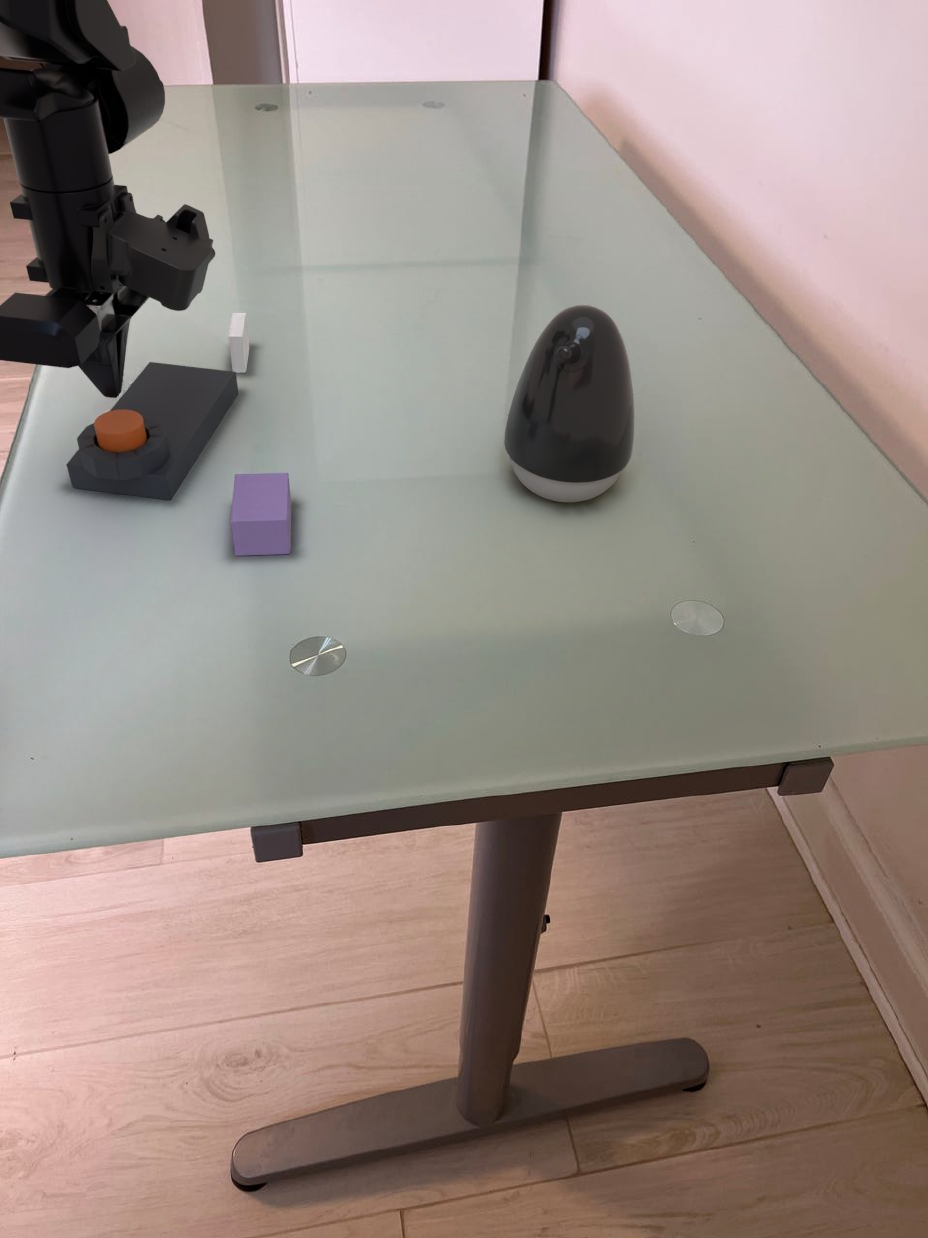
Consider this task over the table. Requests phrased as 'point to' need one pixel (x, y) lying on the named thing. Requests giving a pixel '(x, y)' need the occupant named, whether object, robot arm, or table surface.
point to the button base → (157, 431)
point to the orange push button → (120, 430)
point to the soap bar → (261, 514)
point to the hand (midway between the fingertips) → (112, 395)
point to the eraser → (239, 342)
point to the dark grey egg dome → (573, 408)
